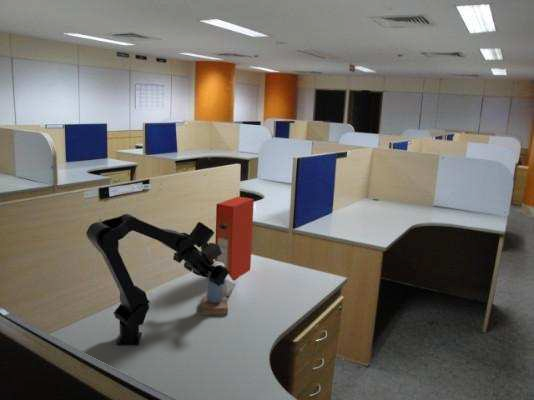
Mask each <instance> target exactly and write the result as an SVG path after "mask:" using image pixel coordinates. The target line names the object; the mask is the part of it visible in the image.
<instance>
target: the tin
mask: <svg viewBox="0 0 534 400" xmlns="http://www.w3.org/2000/svg"><path fill="white" fill-rule="evenodd" d="M218 265H221V266H223V267H224V263H222V262H217V261H215V260H214V263H213V265H212V266H214V267H215V266H218ZM210 269H211V268H210ZM212 270H213V269H212ZM210 275H211V273H210V272H209V274H208V278H207V285H206V286H207V287H206V288H207V289H206V292H207V293H206V297H207V300H208V301H210V302H220V301H222V299H223V285H222V284H221V285H220V286H217V285H215V284H213V283H211V282H209V276H210Z"/></svg>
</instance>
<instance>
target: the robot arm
mask: <svg viewBox="0 0 534 400" xmlns="http://www.w3.org/2000/svg"><path fill="white" fill-rule="evenodd" d="M132 231H133V232H135V233H139V234H141V235H143V236H145V237H148V238H151V239H153V240H157V241H158V242H159V243H161V244H162V245H163V246H165V247H167V248H169V249H171V250H172V251H174V252H173V258H172V259H173V261H174V262H177V263H178V264H181V263H182V261H184V263H183V268H185V269H186V270H187V271H189V272H192V273H193V274H195V275H196V276H200V277H203V278H206V279H208V274H209V272H210V273H211V275H210V276H209V282H211V283H213V284H215V285H217V286H220V285H221V284H222V285H223V284H224V283H225V281H224V279H225V278H226V277H227V275H228V274H229V270H228V269H227V268H225V267H223V266H221V265H218V266H215V267H214V266H212V265H213V263H214V262H215V258H217V257H218V256H219V255H221V254H222V252H221V249H220V247H219V245H217V244H215V243H214V242H210V240H211V239H212V237H213V236H214V234H215V232H214V231H213V229H211V228H209V227H208V226H207V225H205V224H204V223H203V222H201V221H198V222H197V224H196V225H195V227H194V228H193V229H192V231H191V232H190V233H189V234H188V233H186V232H179V231H177V230H172V229H170V228H169V229H168V228H161V227H158V226H155V225H153V224H151V223H148V222H147V221H143V220H141V219H139V218H137V217H135V216H133V215H131V214H128V213H125V214H121V215H120V216H116V217H114V218H108V219H105V220H102V221H96V222H93V223H91V224H90V225H89V227H87V230H86V238H87V239H88V240H89V242H90V243H91V244H92V246H93V247H94V248H95V249H96V250H97V251H98V252H99V253H100V254H101V256H102V258H103V259H104V262H105V263H106V266H107V268H108V270H109V272H110V274H111V276H112V278H113V280H114V282H115V284H116V287H117V288H118V290H119V300H120V304H119V306H118V307H117V308H116V309H115V311H113V314H114V317H115V319H118V321H119V324H118V325H119V336H118V339H117V340H116V345H117V346H122V345H123V346H127V345H129V346H131V345H132V346H133V345H139V344H140V342H141V339H142V334H143V333H142V331H140V326H141V325H144V322H145V320H146V319H145V318H146V316H147V313H148V311H149V310H150V305H149V304H150V303H151V302H150V300H149V299H148V297H147V293H146V292H145V290H143V289H141V288H140V287H139V286H137V285H135V284H134V282H133V280H132V277H131V276H130V274H129V271H128V269H127V267H126V265H125V263H124V260H123V258H122V256H121V253H120V252H119V251H120V250H119V246H120V245H119V241H120V240H122V239H124V238H125V237H126V236H127V235H128V234H129V233H131V232H132ZM199 248H200V250H199ZM210 268H211V269H210ZM212 269H213V270H212Z"/></svg>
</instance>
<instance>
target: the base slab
mask: <svg viewBox="0 0 534 400" xmlns="http://www.w3.org/2000/svg"><path fill="white" fill-rule="evenodd" d="M228 305H229V304H228V296H227V297H223V299H222V301H220V302H210V301H208V300H207V296H202V297H201V315H202V316H228V314H229V306H228Z"/></svg>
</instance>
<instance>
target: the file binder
mask: <svg viewBox="0 0 534 400" xmlns="http://www.w3.org/2000/svg"><path fill="white" fill-rule="evenodd" d="M254 201H255V199H254V198H249V197H244V196H243V197H242V196H236V197H232V198H230V199H227V200H224V201H221V202H218V203H216V206H215V207H216V210H215V215H216V216H215V243H214V244H217V245H219V247H220V249H221V252H222V254H221V255H219V256H218V257H217V258H215V259H214V262H215V261H217V262H222V263H224V267H225V268H227V269H228V270H229V276H230V277H231V279H232V280H233V281H234V280H235V281H236V280H237V278H239V277H240V276H242V275H244V274H245V273H247V272H248V271H250V270H251V266H252V265H251V264H252V263H251V262H252V243H253V227H254V225H253V224H254V222H253V221H254V203H255V202H254Z"/></svg>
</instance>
